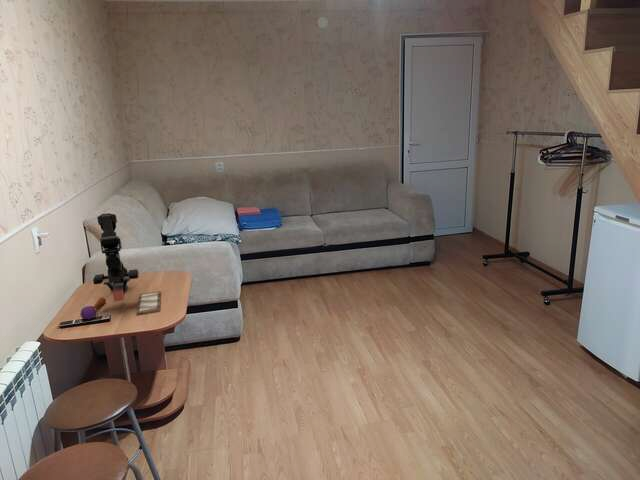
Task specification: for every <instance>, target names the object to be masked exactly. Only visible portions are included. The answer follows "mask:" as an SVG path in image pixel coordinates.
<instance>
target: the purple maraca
mask: <svg viewBox="0 0 640 480" xmlns="http://www.w3.org/2000/svg"><path fill="white" fill-rule="evenodd" d="M106 302H107V299H106V298H105V297H103V296H102V297H101V296H100V297H99V299H98V300H97V301H96V302H95V304H94V305H93V306H92V305H89V306H85V307H83V308H82V309H81V310H80V317H81V318H82V319H83V320H85V319H90V320H92V319H94V317H95V316H96V312H97V310H96V309H97V308H98V307H100V306H102V305H104V304H106ZM91 318H92V319H91Z"/></svg>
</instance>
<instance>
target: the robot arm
mask: <svg viewBox="0 0 640 480" xmlns="http://www.w3.org/2000/svg"><path fill="white" fill-rule="evenodd" d="M116 215H117V214H115V213H111V212H110V213H108V212H106V213H102V214H100V215H98V216H96V218H97V223H98V226H99V227H100V229H101V230H102V233H101V235H100V236H101V237H100V238H101V239H99V242H100V247H101V253H102V254H104V255H105V265H106V267H107V270H106V271H107V275H105V274H104V273H101V274H95V275H94V277H93V280H92V281H93V285H101V284H102V283H103V285H105V286H107V287H108V288H109V290H110V291H111V293H112V294H113V289H114V285H115V284H117V283H123V289H124V294H126V292H127V291H128V285H127V284H128V282H130V281H131V280H134V279H139V277H140V276H139V275H140V273H139V270H138V269H136V268H135V269H130V270H128V269H127V268H126V266H124V263H123V262H122V261H121V257H120V252H121V249H122V242H121V241H122V240H121V238H120V237H119V236H118V235H117V232H116V228H117V223H118V219H117V216H116ZM125 291H126V292H125Z"/></svg>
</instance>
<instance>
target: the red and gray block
mask: <svg viewBox="0 0 640 480" xmlns="http://www.w3.org/2000/svg"><path fill="white" fill-rule="evenodd" d="M126 292H127V291H125V294H126ZM125 294H124V289H123V283H117V284H115V285H114V289H113V293H112V296H113V301H114V302H118V301H124V300H125V296H126V295H125Z"/></svg>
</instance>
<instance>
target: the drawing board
mask: <svg viewBox="0 0 640 480" xmlns="http://www.w3.org/2000/svg"><path fill="white" fill-rule="evenodd" d="M161 292H162V291H161V290H159V291H157V290H156V291H150V292H145V293H144V292H143V293H140V294H138V301H137V306H136V307H137V308H136V316H141V315H147V314H155V313H160V312H161V295H162V293H161Z"/></svg>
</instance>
